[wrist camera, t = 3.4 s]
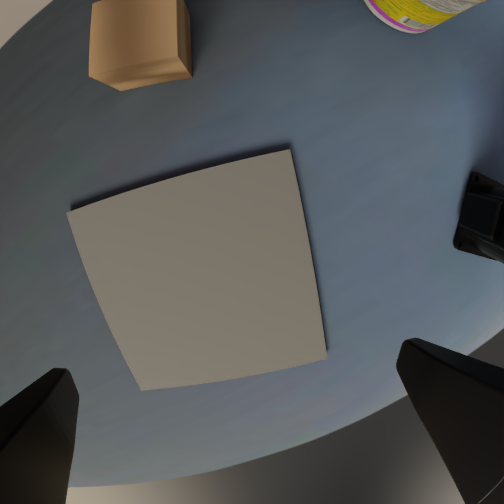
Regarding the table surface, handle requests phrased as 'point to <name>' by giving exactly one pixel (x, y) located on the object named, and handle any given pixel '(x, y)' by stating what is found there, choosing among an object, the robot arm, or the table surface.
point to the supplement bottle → (417, 12)
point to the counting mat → (206, 273)
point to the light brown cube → (139, 42)
